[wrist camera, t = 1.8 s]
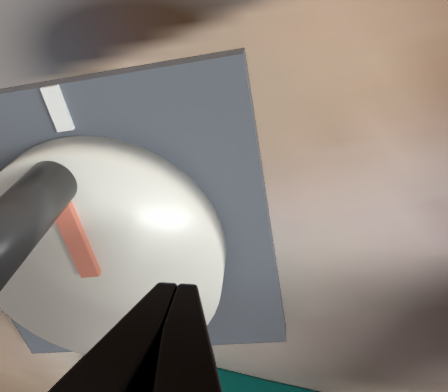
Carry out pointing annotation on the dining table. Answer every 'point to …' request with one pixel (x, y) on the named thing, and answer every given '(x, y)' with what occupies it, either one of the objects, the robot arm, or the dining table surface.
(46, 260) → the dial
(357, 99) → the dining table surface
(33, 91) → the base plate
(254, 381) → the digital multimeter
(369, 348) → the dining table surface
